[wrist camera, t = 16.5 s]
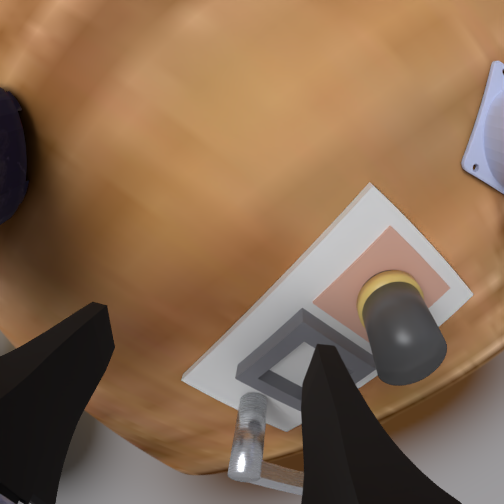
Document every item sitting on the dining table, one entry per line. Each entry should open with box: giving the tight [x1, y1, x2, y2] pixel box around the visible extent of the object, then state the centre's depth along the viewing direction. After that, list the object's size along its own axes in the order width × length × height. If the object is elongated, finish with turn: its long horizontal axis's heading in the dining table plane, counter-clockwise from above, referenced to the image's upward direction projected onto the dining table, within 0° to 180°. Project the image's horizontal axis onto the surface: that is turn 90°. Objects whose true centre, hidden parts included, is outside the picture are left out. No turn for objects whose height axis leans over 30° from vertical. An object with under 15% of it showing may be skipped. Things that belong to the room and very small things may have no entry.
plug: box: [356, 270, 447, 385], centre depth 17 cm, size 4×4×6 cm
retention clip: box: [228, 393, 304, 495], centre depth 23 cm, size 13×2×8 cm, turn 57°
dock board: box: [181, 182, 474, 432], centre depth 22 cm, size 22×12×2 cm, turn 143°
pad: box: [313, 226, 450, 342], centre depth 20 cm, size 7×7×1 cm
